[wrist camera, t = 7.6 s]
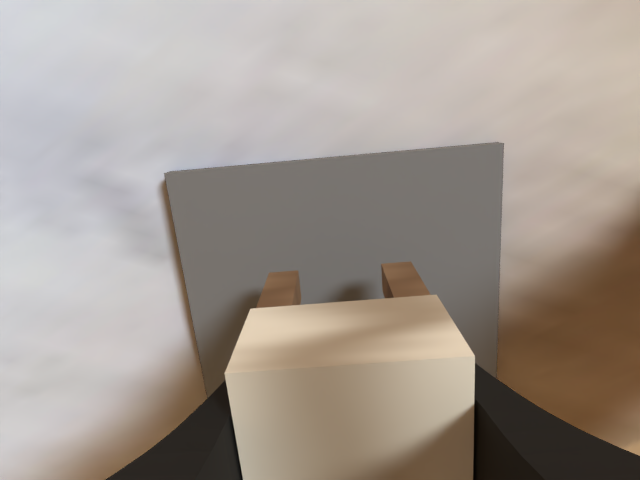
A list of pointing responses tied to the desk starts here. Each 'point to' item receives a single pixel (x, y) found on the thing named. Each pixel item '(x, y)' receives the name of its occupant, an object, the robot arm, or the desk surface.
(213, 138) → the desk surface
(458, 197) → the mat
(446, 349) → the stool
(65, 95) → the desk surface
